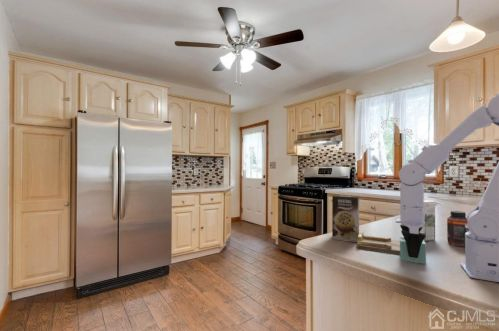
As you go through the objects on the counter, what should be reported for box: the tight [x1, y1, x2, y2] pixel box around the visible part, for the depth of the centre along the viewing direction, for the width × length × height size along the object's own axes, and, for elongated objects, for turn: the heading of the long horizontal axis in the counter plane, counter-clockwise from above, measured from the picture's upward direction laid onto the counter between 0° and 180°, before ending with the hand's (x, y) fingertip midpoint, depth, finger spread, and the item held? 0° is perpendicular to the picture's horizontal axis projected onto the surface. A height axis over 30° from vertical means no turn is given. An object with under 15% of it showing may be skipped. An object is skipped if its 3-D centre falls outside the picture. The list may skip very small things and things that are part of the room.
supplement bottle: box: [446, 210, 469, 248], centre depth 87 cm, size 6×6×11 cm
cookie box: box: [331, 194, 360, 243], centre depth 94 cm, size 9×6×16 cm
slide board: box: [357, 230, 400, 255], centre depth 84 cm, size 12×18×4 cm, turn 61°
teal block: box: [399, 237, 427, 265], centre depth 73 cm, size 4×6×6 cm
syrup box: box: [420, 199, 437, 243], centre depth 93 cm, size 6×6×14 cm
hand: (412, 253), depth 73 cm, fingers open, 7 cm apart
